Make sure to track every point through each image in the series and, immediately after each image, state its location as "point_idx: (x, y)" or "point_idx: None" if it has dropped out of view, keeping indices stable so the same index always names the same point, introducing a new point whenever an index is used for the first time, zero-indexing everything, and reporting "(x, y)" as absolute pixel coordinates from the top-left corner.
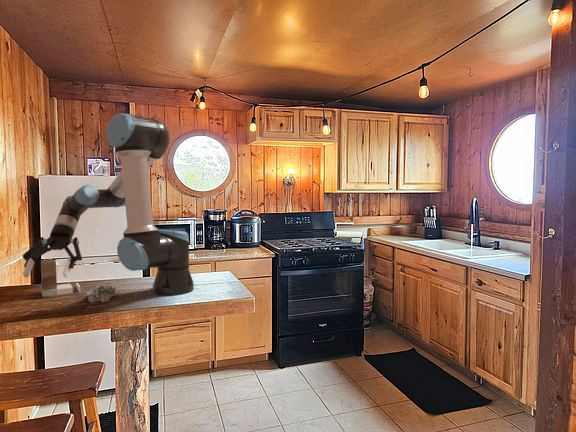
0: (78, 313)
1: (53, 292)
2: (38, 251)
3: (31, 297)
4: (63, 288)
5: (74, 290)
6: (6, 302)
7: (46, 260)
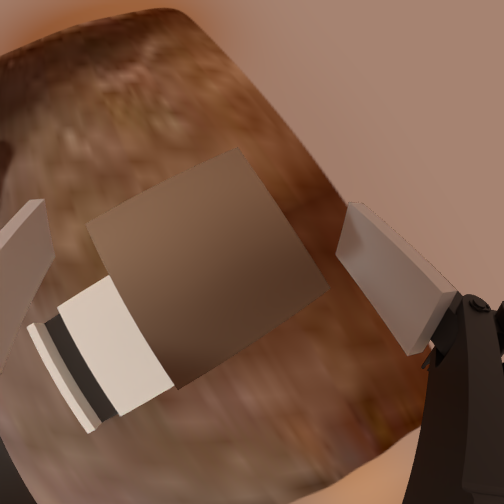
0: (12, 62)
1: None
2: (477, 387)
3: None
4: (100, 289)
5: (71, 342)
6: (306, 157)
7: (263, 308)
